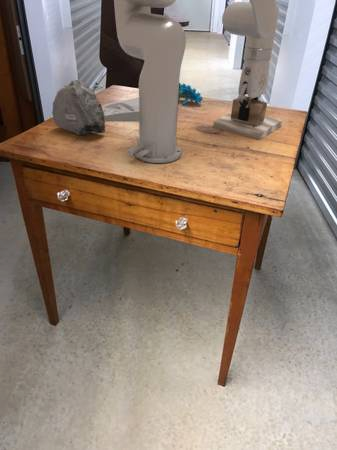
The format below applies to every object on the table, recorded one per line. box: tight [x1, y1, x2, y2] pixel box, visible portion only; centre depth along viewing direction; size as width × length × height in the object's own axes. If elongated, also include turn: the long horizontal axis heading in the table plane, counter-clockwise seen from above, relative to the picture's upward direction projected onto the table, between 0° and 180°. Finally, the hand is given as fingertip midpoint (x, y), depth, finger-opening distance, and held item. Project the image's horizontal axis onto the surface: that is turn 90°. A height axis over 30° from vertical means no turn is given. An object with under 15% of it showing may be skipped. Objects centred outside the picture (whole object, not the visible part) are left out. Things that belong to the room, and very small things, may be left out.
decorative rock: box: [51, 79, 106, 136], centre depth 100 cm, size 16×7×15 cm, turn 58°
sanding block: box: [230, 97, 268, 126], centre depth 111 cm, size 5×9×6 cm, turn 52°
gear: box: [179, 83, 204, 106], centre depth 132 cm, size 11×6×10 cm
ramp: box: [101, 96, 139, 123], centre depth 118 cm, size 28×16×5 cm, turn 76°
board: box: [212, 112, 283, 141], centre depth 114 cm, size 16×16×2 cm
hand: (247, 117), depth 112 cm, fingers closed on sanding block, 5 cm apart
